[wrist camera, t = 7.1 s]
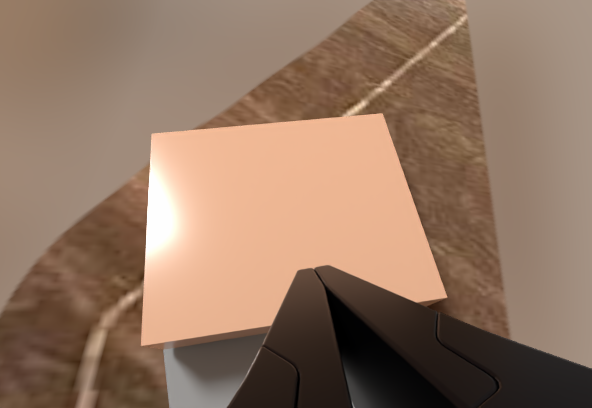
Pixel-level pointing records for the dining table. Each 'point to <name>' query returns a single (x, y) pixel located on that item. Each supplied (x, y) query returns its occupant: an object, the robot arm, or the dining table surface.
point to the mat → (209, 371)
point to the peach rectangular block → (273, 223)
